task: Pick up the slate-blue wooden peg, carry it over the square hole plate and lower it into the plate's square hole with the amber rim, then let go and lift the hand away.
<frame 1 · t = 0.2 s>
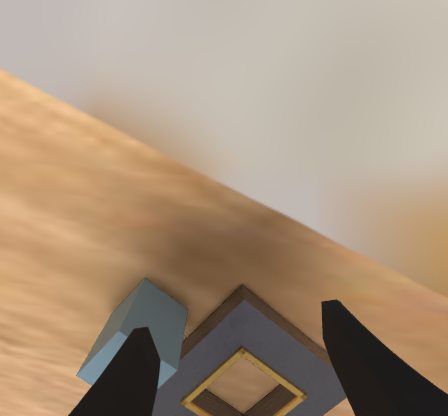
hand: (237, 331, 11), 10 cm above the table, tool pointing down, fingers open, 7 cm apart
square hole plate: (242, 377, 25), on the table
peg: (150, 311, 23), on the table
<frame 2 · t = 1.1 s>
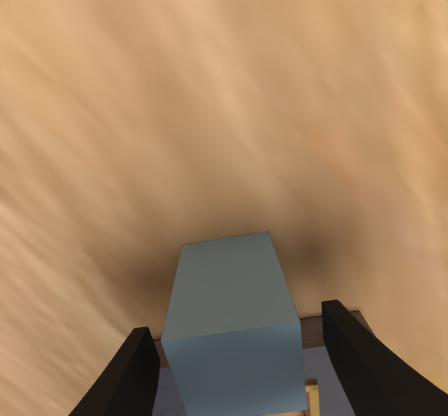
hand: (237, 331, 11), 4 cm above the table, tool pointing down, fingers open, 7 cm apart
square hole plate: (255, 395, 19), on the table
peg: (231, 273, 15), on the table
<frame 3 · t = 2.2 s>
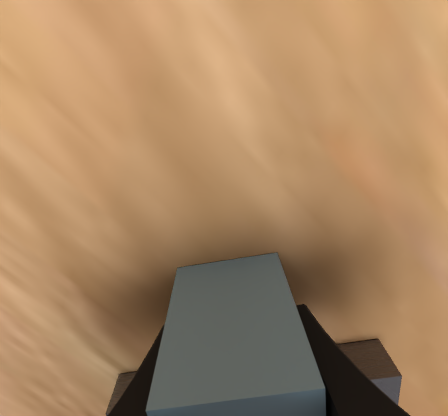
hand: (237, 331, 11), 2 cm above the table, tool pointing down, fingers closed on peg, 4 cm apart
peg: (234, 299, 13), on the table, touching gripper
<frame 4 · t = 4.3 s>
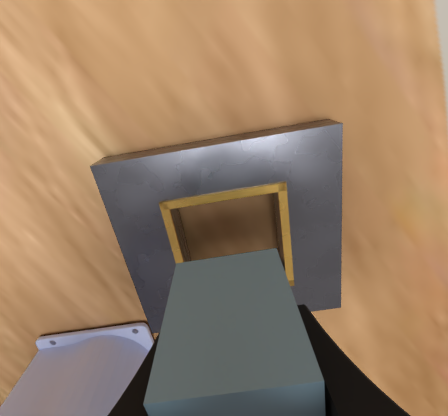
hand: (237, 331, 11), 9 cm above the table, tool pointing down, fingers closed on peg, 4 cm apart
square hole plate: (230, 230, 20), on the table
peg: (233, 295, 13), point 7 cm above the table, touching gripper
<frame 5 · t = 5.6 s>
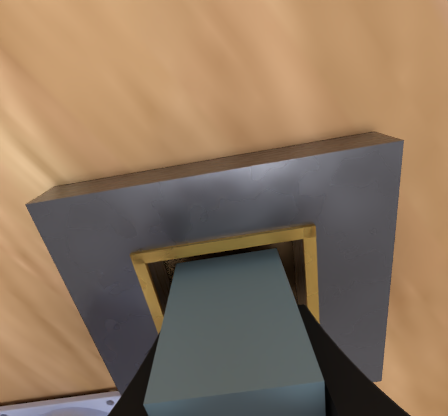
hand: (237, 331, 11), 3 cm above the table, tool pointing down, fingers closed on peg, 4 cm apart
square hole plate: (232, 280, 15), on the table
peg: (233, 295, 13), point 1 cm above the table, touching gripper
when the fingers open (3 cm above the table, at t = 6.6 s): peg drops 1 cm, resting in square hole plate.
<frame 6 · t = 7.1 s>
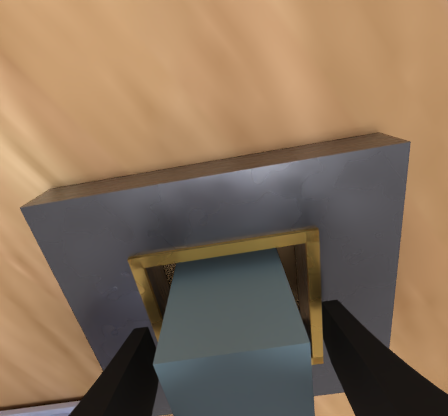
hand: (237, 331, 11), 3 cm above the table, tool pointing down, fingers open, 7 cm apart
square hole plate: (233, 284, 14), on the table
peg: (232, 280, 14), resting in square hole plate
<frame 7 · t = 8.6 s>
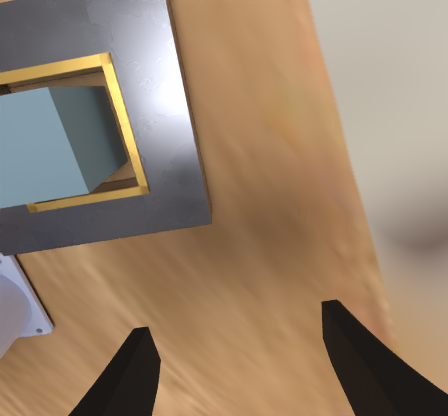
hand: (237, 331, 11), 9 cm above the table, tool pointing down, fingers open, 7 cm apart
square hole plate: (82, 134, 17), on the table
peg: (81, 131, 17), resting in square hole plate
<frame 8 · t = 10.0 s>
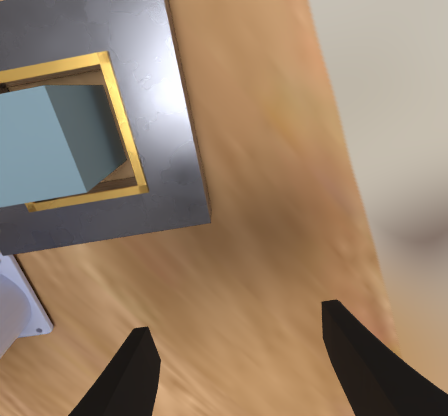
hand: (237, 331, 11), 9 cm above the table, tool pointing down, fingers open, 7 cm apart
square hole plate: (81, 134, 17), on the table
peg: (80, 130, 17), resting in square hole plate
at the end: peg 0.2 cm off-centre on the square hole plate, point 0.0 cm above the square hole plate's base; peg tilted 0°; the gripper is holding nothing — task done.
